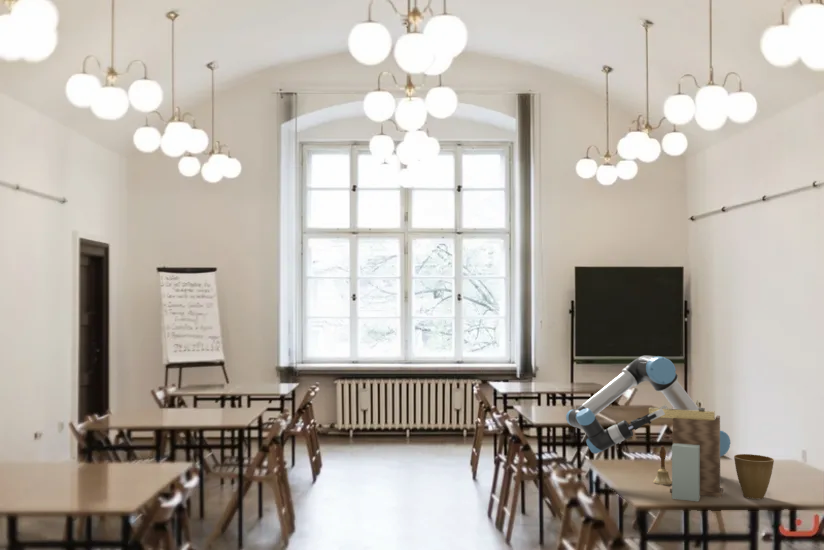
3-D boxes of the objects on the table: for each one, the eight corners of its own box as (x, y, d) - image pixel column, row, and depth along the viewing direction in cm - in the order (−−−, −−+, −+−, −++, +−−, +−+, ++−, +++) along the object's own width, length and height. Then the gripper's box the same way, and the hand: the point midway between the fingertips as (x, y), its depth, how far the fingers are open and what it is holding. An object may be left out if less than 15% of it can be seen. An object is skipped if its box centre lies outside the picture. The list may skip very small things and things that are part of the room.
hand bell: (673, 485, 342) (673, 448, 343) (653, 484, 344) (653, 447, 344) (671, 481, 350) (671, 445, 351) (652, 480, 352) (652, 444, 353)
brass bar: (648, 416, 337) (648, 405, 338) (649, 415, 341) (649, 404, 341) (714, 420, 327) (714, 409, 327) (714, 419, 330) (714, 408, 330)
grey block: (672, 498, 317) (671, 445, 318) (673, 495, 324) (673, 443, 325) (698, 501, 313) (698, 447, 314) (699, 497, 320) (699, 445, 320)
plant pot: (728, 496, 322) (727, 457, 322) (743, 491, 332) (743, 452, 333) (765, 503, 311) (765, 462, 312) (780, 497, 322) (779, 457, 322)
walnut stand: (669, 492, 329) (669, 415, 330) (673, 486, 339) (672, 412, 341) (721, 497, 320) (721, 418, 322) (723, 491, 331) (722, 415, 333)
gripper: (630, 435, 354) (673, 414, 347) (620, 443, 331) (666, 421, 324) (621, 420, 356) (664, 398, 349) (611, 427, 333) (656, 404, 326)
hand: (665, 409), depth 336 cm, fingers open, 13 cm apart
